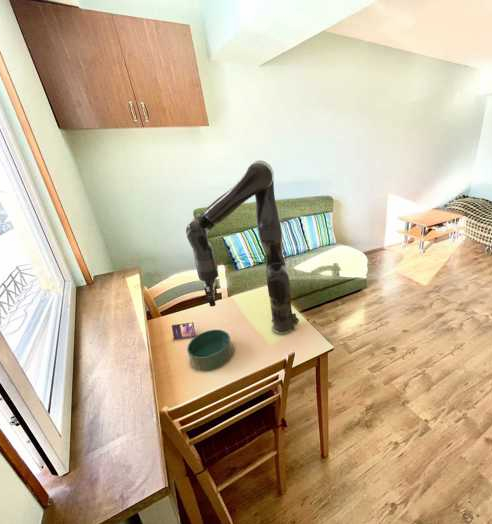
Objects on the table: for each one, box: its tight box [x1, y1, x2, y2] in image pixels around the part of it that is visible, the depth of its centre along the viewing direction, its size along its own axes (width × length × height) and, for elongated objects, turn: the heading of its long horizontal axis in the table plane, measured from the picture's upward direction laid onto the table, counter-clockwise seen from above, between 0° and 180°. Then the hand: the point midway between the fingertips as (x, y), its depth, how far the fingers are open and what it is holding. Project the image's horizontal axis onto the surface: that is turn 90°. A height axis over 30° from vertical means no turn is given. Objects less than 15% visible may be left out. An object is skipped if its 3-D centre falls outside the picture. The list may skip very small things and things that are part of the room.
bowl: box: [186, 329, 234, 372], centre depth 116 cm, size 16×16×7 cm
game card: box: [171, 322, 196, 340], centre depth 128 cm, size 7×5×9 cm
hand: (213, 300), depth 120 cm, fingers open, 8 cm apart
